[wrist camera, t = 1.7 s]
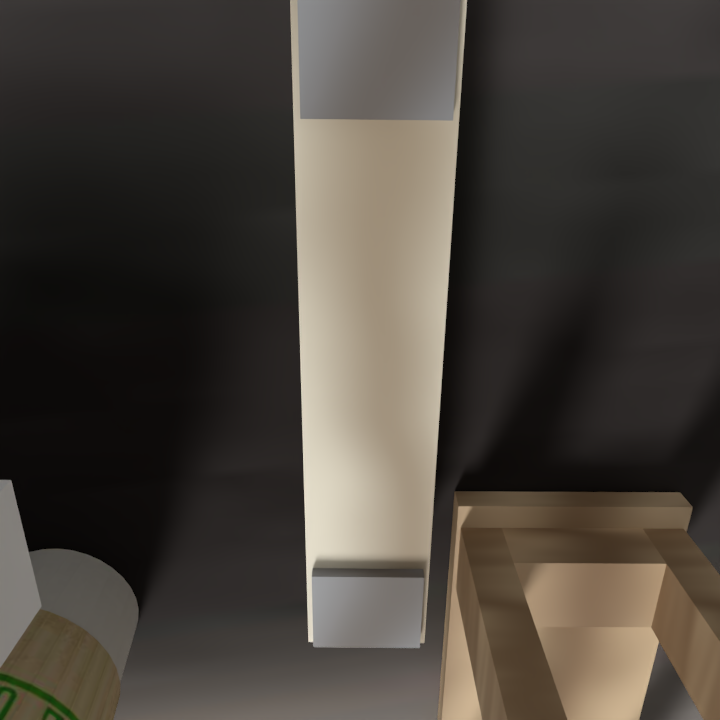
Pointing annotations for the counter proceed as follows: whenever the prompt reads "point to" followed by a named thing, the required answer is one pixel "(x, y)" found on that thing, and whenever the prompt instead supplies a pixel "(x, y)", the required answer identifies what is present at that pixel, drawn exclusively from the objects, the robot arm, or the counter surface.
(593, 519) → the wooden stand
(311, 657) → the counter surface
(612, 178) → the counter surface
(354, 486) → the rail
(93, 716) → the coffee cup
